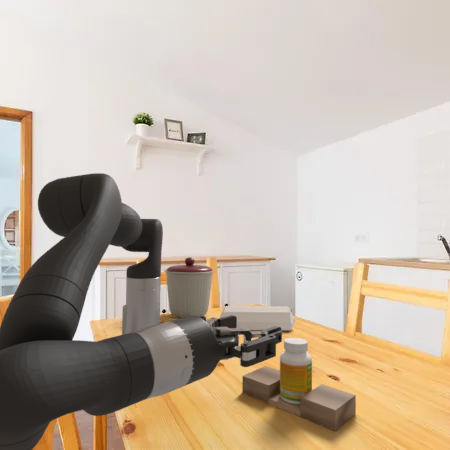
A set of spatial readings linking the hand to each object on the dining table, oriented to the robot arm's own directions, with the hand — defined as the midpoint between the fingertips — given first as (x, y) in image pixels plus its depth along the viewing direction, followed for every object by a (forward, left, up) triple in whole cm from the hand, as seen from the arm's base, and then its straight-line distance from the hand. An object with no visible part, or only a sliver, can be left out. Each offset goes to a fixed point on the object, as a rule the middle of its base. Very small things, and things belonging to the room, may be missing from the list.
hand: (255, 327), depth 52 cm
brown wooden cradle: (+6, +9, -15) cm, 18 cm away
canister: (-34, +67, -15) cm, 77 cm away
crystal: (-8, +56, -15) cm, 59 cm away
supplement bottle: (+6, +9, -14) cm, 18 cm away
